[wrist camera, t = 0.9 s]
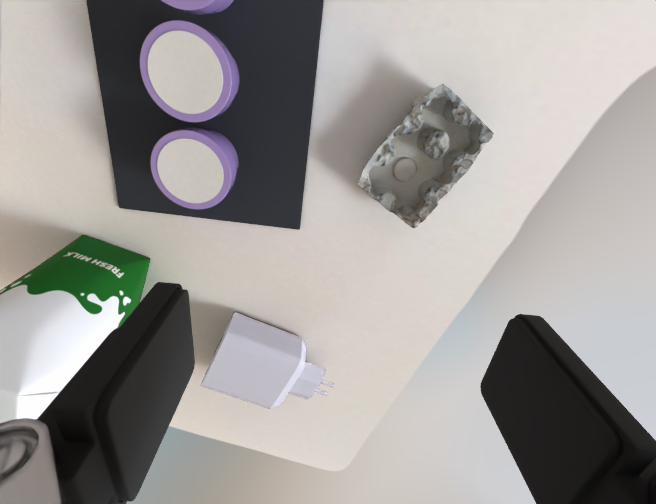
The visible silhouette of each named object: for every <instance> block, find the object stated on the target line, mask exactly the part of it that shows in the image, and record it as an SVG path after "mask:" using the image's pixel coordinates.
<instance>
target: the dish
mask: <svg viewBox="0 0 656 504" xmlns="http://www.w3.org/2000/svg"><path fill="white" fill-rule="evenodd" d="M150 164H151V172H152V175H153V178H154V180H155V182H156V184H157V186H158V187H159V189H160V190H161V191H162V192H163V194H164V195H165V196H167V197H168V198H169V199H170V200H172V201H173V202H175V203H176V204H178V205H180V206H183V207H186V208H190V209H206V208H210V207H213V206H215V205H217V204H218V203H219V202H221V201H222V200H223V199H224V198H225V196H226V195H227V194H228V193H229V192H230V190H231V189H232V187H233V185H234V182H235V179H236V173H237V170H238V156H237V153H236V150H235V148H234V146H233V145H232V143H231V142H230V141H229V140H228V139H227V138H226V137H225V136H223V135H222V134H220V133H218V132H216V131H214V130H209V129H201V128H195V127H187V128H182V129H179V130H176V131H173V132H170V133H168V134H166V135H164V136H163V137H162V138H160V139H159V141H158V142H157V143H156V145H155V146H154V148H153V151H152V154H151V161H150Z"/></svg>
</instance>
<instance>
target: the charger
mask: <svg viewBox="0 0 656 504" xmlns="http://www.w3.org/2000/svg"><path fill="white" fill-rule="evenodd" d="M305 355H306V346H305V343H304V341H303V339H302V338H301V337H298V336H296V335H293V334H291V333H288V332H285V331H283V330H280V329H278V328H275V327H273V326H270V325H267V324H265V323H262V322H260V321H257V320H255V319H252V318H249V317H247V316H244V315H242V314H239V313H237V312H234V314H233V316H232V318H231V320H230V322H229V324H228V326H227V328H226V330H225V332H224V334H223V336H222V338H221V340H220V342H219V345H218V347H217V349H216V351H215V353H214V355H213V357H212V359H211V361H210V364H209V366H208V369H207V371H206V373H205V376H204V378H203V381H202V383H201V386H202V387H205V388H208V389H211V390H214V391H217V392H220V393H223V394H226V395H229V396H232V397H235V398H239V399H242V400H245V401H248V402H251V403H254V404H257V405H260V406H263V407H266V408H269V409H270V408H273V407H276V406H278V405H280V404H281V403H282V401H283V400H284V398H285V397H286V395H287V394H288V393H290V394H293V395H296V396H299V397H302V398H305V399H308V398H310V397H312V395H313V394H314V392H317V393H319V394H322V395H325V396H327V395H328V392H326V391H323V390H320V389H317V388H318V387H319V385H320V383H322V384H324V385H327V386H330V387H334V384H333V383H331V382H328V381H325V380H322V379H323V377H324V374H325V371H326V369H325V368H322V367H319V366H317V365H314V364H311V363H309V362H306V361H305Z"/></svg>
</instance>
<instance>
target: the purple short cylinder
mask: <svg viewBox="0 0 656 504" xmlns="http://www.w3.org/2000/svg"><path fill="white" fill-rule="evenodd" d="M161 1H163V2H164V3H166V4H168V5H170V6H172V7H174V8H176V9H178V10H180V11H183V12H185V13H189V14H195V15H201V14H213V13H218V12H221V11H223V10H224V9H226V8H227V7H228V6H230V5H231V3H232V2H233V1H234V0H161Z"/></svg>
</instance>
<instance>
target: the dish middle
mask: <svg viewBox="0 0 656 504" xmlns="http://www.w3.org/2000/svg"><path fill="white" fill-rule="evenodd" d="M140 70H141V76H142V79H143V82H144V85H145V87H146V89H147V91H148V93H149V94H150V96H151V97H152V99H153V100H154V101H155V103H156V104H157V105H158V106H159V107H160V108H161V109H162V110H164V111H165V112H166V113H168V114H169V115H171V116H173V117H175V118H177V119H179V120H182V121H187V122H202V121H206V120H209V119H212V118H215V117H217V116H219V115H221V114H222V113H223V112H224V111H226V109H227V108H228V107H229V106H230V104H231V103H232V101H233V99H234V98H235V96H236V94H237V91H238V88H239V71H238V67H237V64H236V62H235V60H234V58H233V56H232V55H231V53H230V52H229V51H228V49H227V48H226V46H225V45H224V43H223V42H222V41H221V40H220V39H219V38H218V37H217V36H216V35H214V34H213V33H212V32H210V31H209V30H207V29H205V28H203V27H201V26H198V25H196V24H193V23H191V22H187V21H182V20H172V21H167V22H164V23H162V24H160V25H158V26H157V27H155V28H154V29H153V30H152V31H151V32H150V33H149V34H148V35H147V37H146V39H145V41H144V43H143V45H142V48H141V53H140Z"/></svg>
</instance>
